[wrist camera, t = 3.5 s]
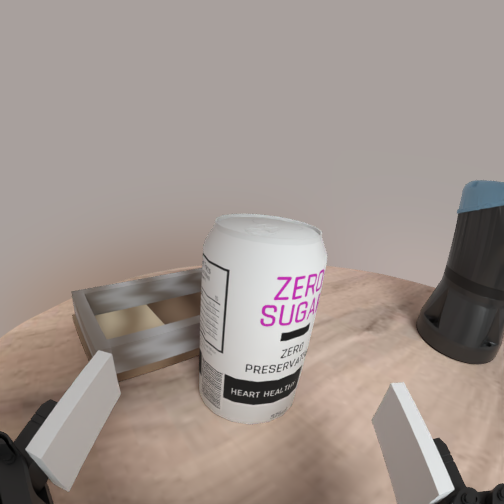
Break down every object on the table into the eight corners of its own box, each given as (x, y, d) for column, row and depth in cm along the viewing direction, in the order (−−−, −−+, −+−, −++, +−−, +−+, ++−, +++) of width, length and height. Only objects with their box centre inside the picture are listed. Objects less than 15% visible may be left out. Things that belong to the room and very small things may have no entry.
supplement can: (228, 356, 28) (242, 208, 24) (304, 383, 25) (341, 228, 21) (180, 401, 21) (178, 221, 17) (270, 443, 18) (315, 252, 14)
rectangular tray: (238, 284, 46) (240, 260, 45) (295, 316, 38) (301, 289, 37) (73, 321, 29) (68, 291, 28) (100, 386, 21) (91, 352, 19)
